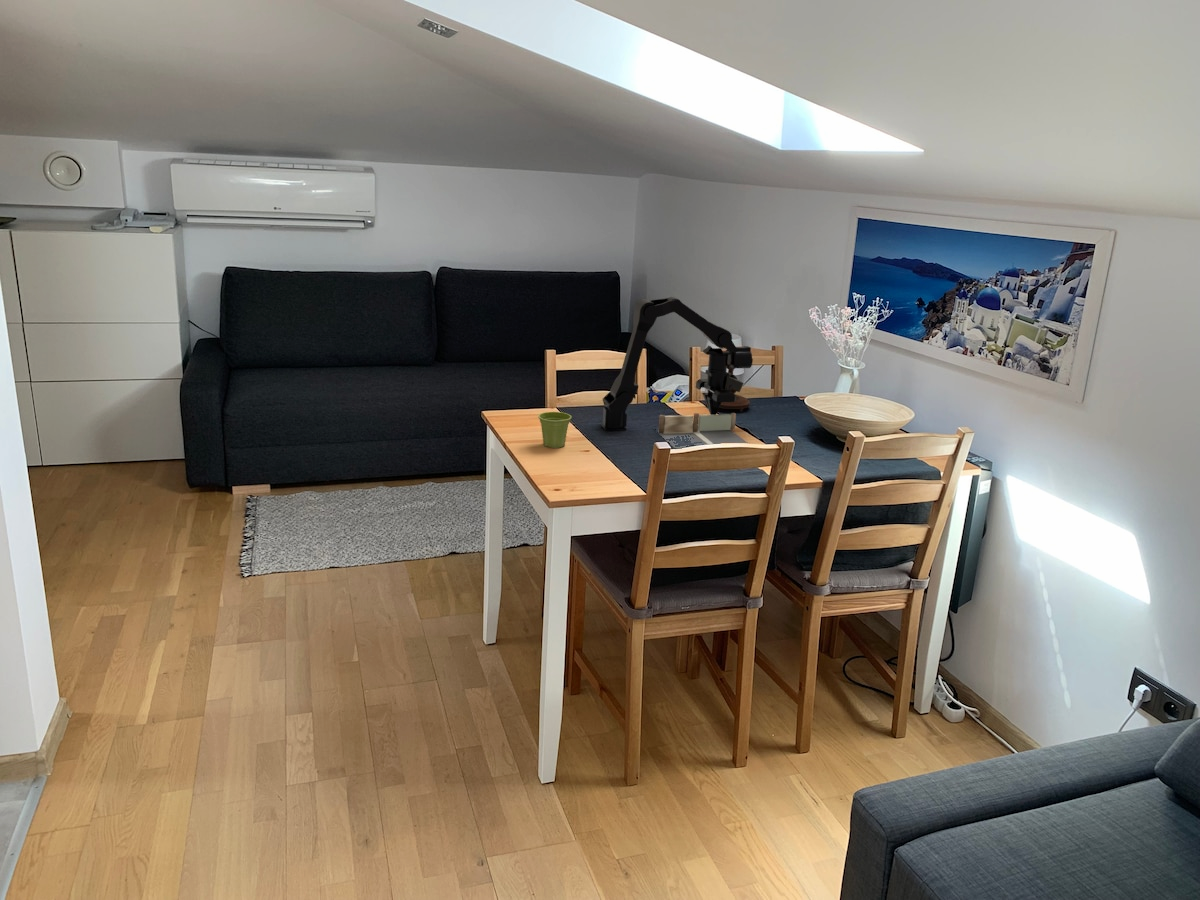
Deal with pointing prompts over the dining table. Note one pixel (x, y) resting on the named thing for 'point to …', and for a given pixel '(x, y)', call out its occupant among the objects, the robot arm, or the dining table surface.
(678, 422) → the fence fixed section
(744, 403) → the brown round-based upright piece
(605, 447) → the dining table surface
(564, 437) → the plant pot
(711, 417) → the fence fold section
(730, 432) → the card
